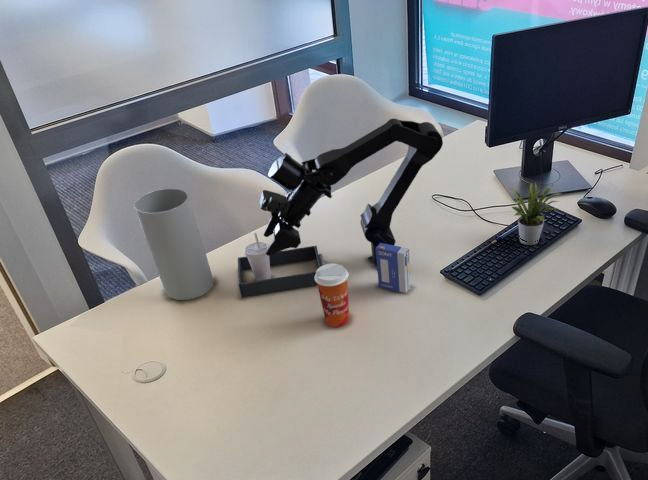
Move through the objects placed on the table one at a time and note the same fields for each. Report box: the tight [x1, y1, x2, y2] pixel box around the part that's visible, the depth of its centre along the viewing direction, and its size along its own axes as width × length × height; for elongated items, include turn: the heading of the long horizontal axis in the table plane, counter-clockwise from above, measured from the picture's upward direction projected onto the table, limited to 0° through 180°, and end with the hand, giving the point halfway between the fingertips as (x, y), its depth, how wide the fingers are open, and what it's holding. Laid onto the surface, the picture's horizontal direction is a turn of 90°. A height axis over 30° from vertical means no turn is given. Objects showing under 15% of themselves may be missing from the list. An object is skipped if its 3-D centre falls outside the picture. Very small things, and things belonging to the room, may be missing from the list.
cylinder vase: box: [133, 187, 215, 301], centre depth 153 cm, size 12×12×25 cm
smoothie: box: [243, 232, 272, 281], centre depth 158 cm, size 6×6×14 cm
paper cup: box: [314, 263, 350, 328], centre depth 144 cm, size 8×8×14 cm
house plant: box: [510, 182, 562, 246], centre depth 166 cm, size 14×14×16 cm
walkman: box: [376, 243, 412, 294], centre depth 153 cm, size 8×3×12 cm, turn 66°
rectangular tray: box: [237, 245, 326, 299], centre depth 162 cm, size 22×13×4 cm, turn 103°
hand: (265, 245), depth 156 cm, fingers open, 9 cm apart
